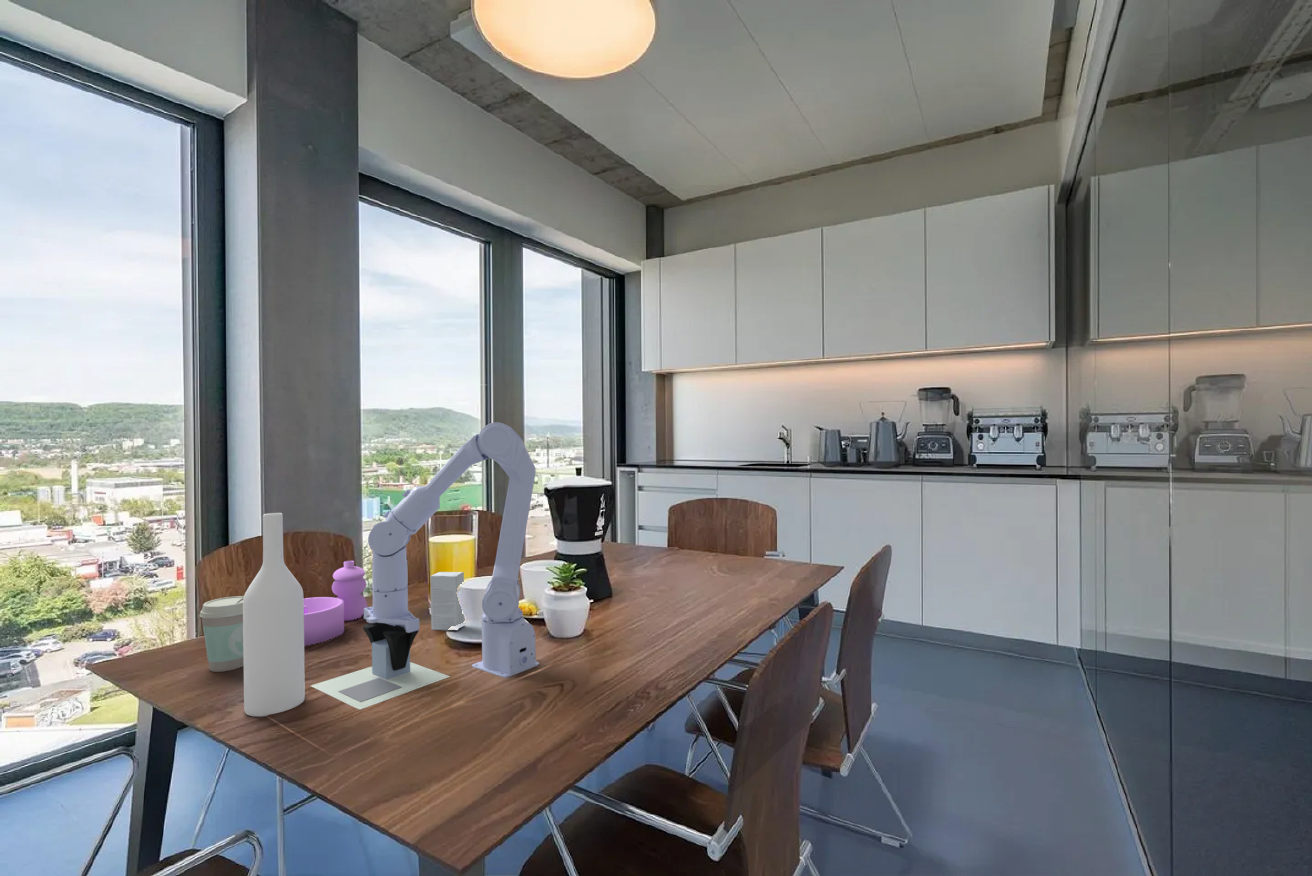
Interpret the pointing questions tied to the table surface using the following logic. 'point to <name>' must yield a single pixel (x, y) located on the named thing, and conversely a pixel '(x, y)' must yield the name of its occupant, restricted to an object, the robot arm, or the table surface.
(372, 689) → the mat
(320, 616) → the container set
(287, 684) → the bottle
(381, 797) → the table surface
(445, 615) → the skincare box
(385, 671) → the blue-grey rectangular block
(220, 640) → the coffee cup
